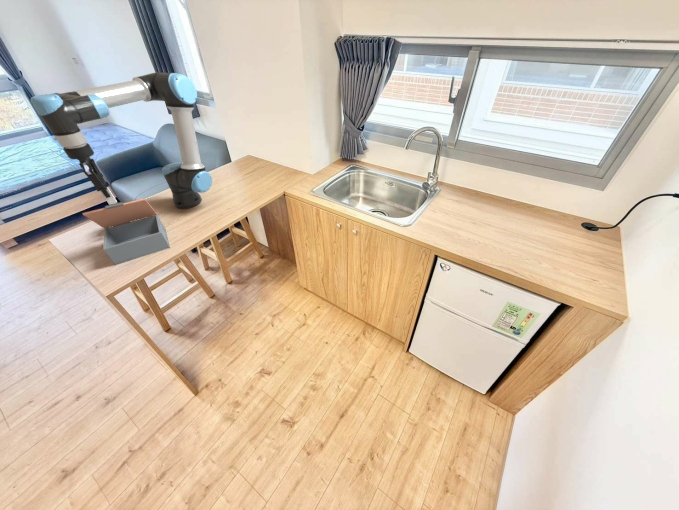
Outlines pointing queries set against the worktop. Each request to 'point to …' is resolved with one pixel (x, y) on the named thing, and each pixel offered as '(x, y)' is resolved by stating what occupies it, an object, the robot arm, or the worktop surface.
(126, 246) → the box
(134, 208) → the lid
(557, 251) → the worktop surface
